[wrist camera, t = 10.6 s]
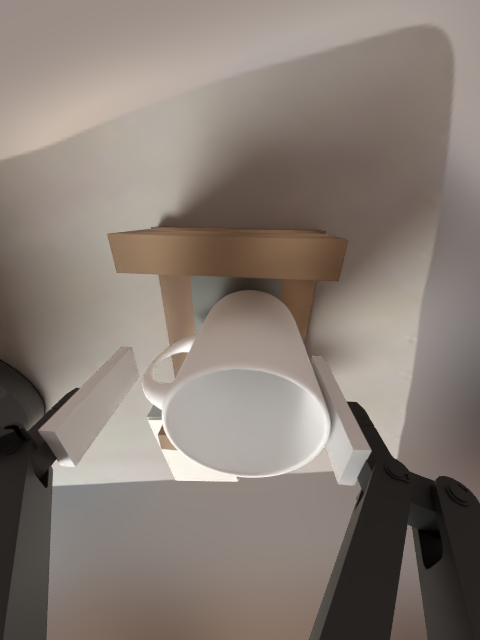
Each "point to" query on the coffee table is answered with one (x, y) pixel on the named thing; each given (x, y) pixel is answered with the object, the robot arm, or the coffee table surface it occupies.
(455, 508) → the robot arm
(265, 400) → the mug
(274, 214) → the coffee table surface
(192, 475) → the white rectangular block
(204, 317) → the cradle
